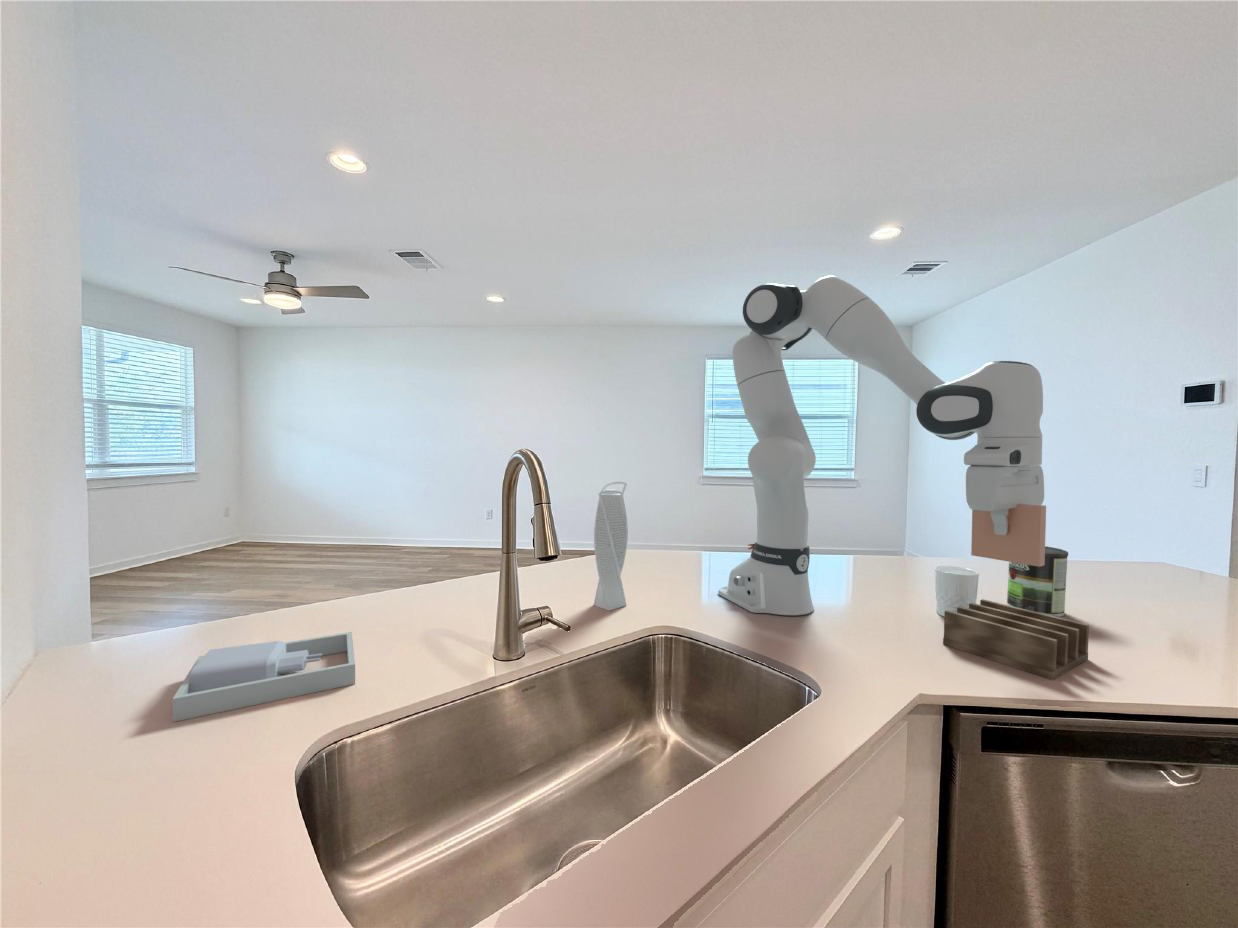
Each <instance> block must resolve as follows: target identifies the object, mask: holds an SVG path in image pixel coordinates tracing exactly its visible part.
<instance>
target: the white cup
mask: <svg viewBox="0 0 1238 928" xmlns="http://www.w3.org/2000/svg"><path fill="white" fill-rule="evenodd" d="M934 573H935V574H934V579H935V580H934V581H935V582H934V583H935V599H936V605H935V606H936V608H935V609H936V613H937V614H938V615H939V616H941V617H945V611H947V610H949V611H952V612H956V613H957V607H959V606H960V607H964V608H968V609H969V603H975V604H977V598H978V587H979V579H980V578H979V576H980V573H979V572H978V571H976V570H973V569H971V568H966V567H960V566H952V565H950V566H949V565H939V566H935V567H934Z"/></svg>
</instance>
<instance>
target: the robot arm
mask: <svg viewBox="0 0 1238 928" xmlns="http://www.w3.org/2000/svg"><path fill="white" fill-rule="evenodd" d="M742 315H743V316H742V317H743V320H744V322H745V323H746V325H747V326H748V328H749V329H750V332H749V333H747V334H744V335H743V336H741V337H740V338H739V339H738V340H737V341H736V342H735V343H734V345H733V347H732V363H733V370H734V376H735V377H734V378H735V382H736V384H737V385H736V387H737V390H738V394H739V396H740V401H741V404H742V409H743V411H744V414H745V415H744V416H745V418H746V420H747V423H749V425H750V426H751V428H752V430H753V431H754V434H755V436H756V439H757V440H758V442H756V443H755V444H754V445H752V447H751V449H750V451H749V453H748V455H747V464H748V469H749V472H750V473H751V476H752V483H753V489H754V495H755V502H756V513H757V514H756V515H757V516H756V525H757V526H756V542H754V543H751V544H747V546H748V547H747V550H751V553H750V557H749V558H746V560H744V561H743V562H741V563H739V564H738V565H736V566H735V567H734V568H733V569H731V570H730V573H729V576H728V582H727V583H728V585H726V586H723V587H720V588H719V589H718V592H717V594H718V595H719V596H721V597H723V598H724V599H727V600H729V601H730V602H732V603H734V604H736V605H737V606H739V607H741V608H744V609H745V610H746V611H748V612H751V613H754V614H755V613H756V614H773V615H780V616H802V615H807V614H810V613H813V611H814V610H815V607H814V604H813V600H812V595H811V589H810V588H811V587H810V581H809V572H808V571H809V565H810V546H809V545H808V543H809V540H808V539H809V538H808V537H809V508H808V507H807V501H806V493H805V492H806V491H805V484H804V480H805V479H806V478H808V477H809V476H810V475H811V473H812V472H813V470H814V469H815V466H816V461H817V460H816V459H817V457H816V453H815V450H814V449H813V446H812V443H811V440H810V437H809V435H808V432H807V429H806V427H805V425H804V423H803V420H802V419H801V416H800V414H799V412H798V409H797V405H796V404H795V401H794V398H793V394H792V391H791V387H790V383H789V380H788V377H787V374H786V370H785V366H784V364H783V360H782V351H788V350H789V349H791V348H792V346H794V345H795V344H797V343H798V342H800V341H802V340H803V339H804V338H806V337H807V336H808V335H809V334H810V333H811V332H812V331H813V330H814V331H816V332H817V333H818V334H819V335H820V336H821V337H822V338H823V339H825V341H826V342H828V343H829V345H831V346H832V347H833V348H834V349H835V350H837V351H838V352H839V353H841V354H842V355H844V356H846V357H847V358H848V359H851V360H852V361H853V362H855V363H858V364H860V365H862V366H865V367H867V368H869V369H871V370H874V372H877V373H879V374H881V375H882V376H884V377H885V378H887V379H888V380H889V381H890V382H892V383H893V385H895V386H896V387H897V388H898V389H899V390H900V391H902V392H903V393H904V394H905V395H906V396H907V397H908V398H909V399H910V400H911V401H913V403H914V404H915V405H916V409H915V411H916V418H917V420H918V423H919V424H920V425H921V427H922V428H924V429H925V430H926V431H927V432H929V433H931V434H933V435H935V436H937V437H938V438H940V439H944V440H950V441H959V440H963V439H966V438H968V437H971V436H973V435H974V434H977V441H976V443H977V444H975V445H974V446H973V447H972V448H970V449H969V450H967V451H966V452H965V453H964V455H963V464H964V465H965V466H968V467H967V469H966V472H965V496H966V497H965V498H966V503H967V506H968V508H969V509H970V510H972V509H973V510H981V511H990V515H991V518H992V520H993V523H994V533H995V534H998V535H1007V534H1009V533H1010V525H1008V521H1007V515H1008V510H1009V509H1013V508H1016V507H1017V504H1031V505H1043V503H1044V499H1045V478H1044V470H1043V468H1042V466H1041V465H1042V464H1043V463H1042V462H1043V459H1042V458H1043V433H1042V431H1041V425H1040V422H1041V417H1042V415H1043V413H1044V392H1043V391H1044V390H1043V389H1044V388H1043V381H1042V376H1041V373H1040V371H1039V369H1037V368H1036V367H1035V366H1033V365H1032V364H1030V363H1027V362H1022V361H1014V360H996V361H990V362H987V363H984V365H983V366H981V367H980V368H978V369H977V370H975V371H973V372H970V373H969V374H967V375H965V376H962V377H960V378H958V379H955V380H953V381H949V382H944V381H943V380H942V379H941V378H940V377H939V376H937V375H936V374H935V373H934V371H933V372H932V370H930V368H929V367H928V366H926V365H925V364H924V363H923V362H922V361H920V360H919V359H918V358H917V357H916V356H915V355H914V354H913V353H912V352H911V350H910V349H909V348H908V346H907V345H906V344H905V342H904V340H903V339H902V336H901V335H900V333H899V331H898V329H897V328H896V326H895V324H894V323H893V322H892V320H891V319H890V318H889V316H888V314H887V313H885V310H883V309H882V308H881V307H880V306H879V305H878V303H876V302H875V301H874V300H872V298H871V297H869V296H868V295H866V294H865V293H864V292H863V291H862V290H860V289H858V288H857V287H856V286H855V285H853V284H851V283H849V282H847V281H845V280H843V279H842V278H840V277H837V276H836V275H835V276H834V275H827V276H824V277H820V278H819V279H817V280H816V281H814V282H813V283H812V284H811V285H810V286H809V287H808V288H807V289H804V290H800V289H799V287H798V286H796V285H787V284H779V283H765V284H761V285H758V286H756V287H755V288H753V289H752V290H751V291H750V292H749V293H748V294H747V296H746V297H745V299H744V302H743V305H742Z"/></svg>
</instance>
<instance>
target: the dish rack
mask: <svg viewBox="0 0 1238 928" xmlns="http://www.w3.org/2000/svg"><path fill="white" fill-rule="evenodd" d="M979 603H980V604H978V603H976V604H975V603H969V609H968V608H964V607H960V606H959V607H957V613H956V612H952V611H949V610H947V611H945V617H944V616H943V617H944V624H943V638H942V644H943V645H945V646H946V647H947V646H948V647H951V648H955V649H956V650H959V651H960V650H961V651H962V652H966V653H970V654H972V655H975V656H979V657H981V658H983V659H987V660H990V661H994V662H997V663H1000V664H1001V665H1002V664H1003V665H1005V666H1008V667H1012V668H1015V669H1018V670H1021V671H1024V672H1026V673H1030V674H1034V675H1036V676H1040V677H1043V678H1045V679H1049V680H1052V681H1053V680H1055V679H1056V678H1059V677H1060V676H1062V675H1064V674H1065V673H1067V672H1069V671H1071V670H1072V669H1074V668H1076V667H1077V666H1079V665H1081V664H1082V663H1085V662H1086V661H1088V659H1089V639H1090V638H1089V634H1090V624H1089V623H1085V622H1079V621H1075V620H1072V619H1066V618H1063V617H1055V616H1051V615H1047V614H1043V613H1038V612H1034V611H1030V610H1026V609H1022V608H1017V607H1013V606H1009V605H1007V604H1004V603H1000V602H996V601H991V600H987V599H983V598H981V599H980V601H979Z"/></svg>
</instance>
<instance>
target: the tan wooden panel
mask: <svg viewBox="0 0 1238 928" xmlns="http://www.w3.org/2000/svg"><path fill="white" fill-rule="evenodd" d="M971 511H972V512H971V513H972V514H971V544H970V545H971V546H970V547H971V550H970V551H971V552H970V555H971V556H974V557H978V558H979V557H980V558H986V559H991V560H996V561H997V560H998V561H1004V562H1008V563H1009V562H1014V563H1020V564H1026V565H1032V566H1038V567H1040V566H1044V565H1045V546H1046V531H1047V530H1046V528H1047V527H1046V525H1047V522H1046V521H1047V505H1043V504H1042V505H1031V504H1017V507H1016V508H1013V509H1009V510H1008V515H1007V521H1008V525H1010V533H1009V534H1007V535H998V534H995V533H994V523H993V520H992V518H991V515H990V511H981V510H973V509H971Z"/></svg>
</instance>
